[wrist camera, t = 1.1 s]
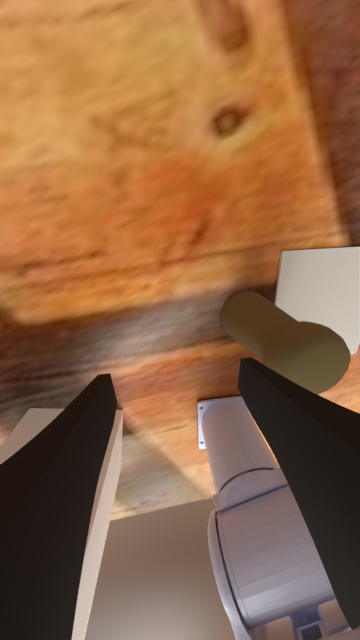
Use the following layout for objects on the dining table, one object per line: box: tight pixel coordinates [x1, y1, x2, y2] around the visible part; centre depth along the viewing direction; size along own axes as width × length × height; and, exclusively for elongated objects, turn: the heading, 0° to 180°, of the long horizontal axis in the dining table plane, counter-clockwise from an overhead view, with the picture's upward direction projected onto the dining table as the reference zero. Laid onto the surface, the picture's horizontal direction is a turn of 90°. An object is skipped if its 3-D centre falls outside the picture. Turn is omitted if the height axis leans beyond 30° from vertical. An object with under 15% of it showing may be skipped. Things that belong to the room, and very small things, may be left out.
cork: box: [220, 291, 350, 394], centre depth 16 cm, size 6×6×11 cm
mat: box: [274, 247, 360, 354], centre depth 22 cm, size 14×13×1 cm
